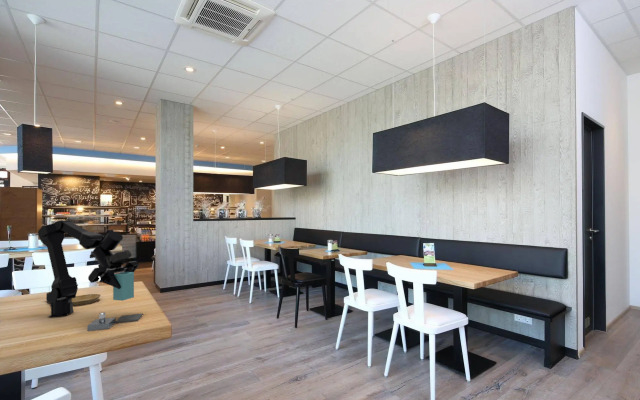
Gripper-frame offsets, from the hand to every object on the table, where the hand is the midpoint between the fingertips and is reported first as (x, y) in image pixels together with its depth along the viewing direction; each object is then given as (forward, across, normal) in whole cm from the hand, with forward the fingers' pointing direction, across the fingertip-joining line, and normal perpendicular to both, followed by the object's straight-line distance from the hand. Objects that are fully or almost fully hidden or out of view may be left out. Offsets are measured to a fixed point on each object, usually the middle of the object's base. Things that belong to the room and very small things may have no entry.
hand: (126, 286), depth 127 cm
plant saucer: (-23, +16, +43) cm, 52 cm away
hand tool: (-34, +11, +54) cm, 65 cm away
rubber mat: (+9, +2, +10) cm, 14 cm away
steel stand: (+7, -7, +12) cm, 16 cm away
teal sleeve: (+2, 0, +4) cm, 5 cm away
